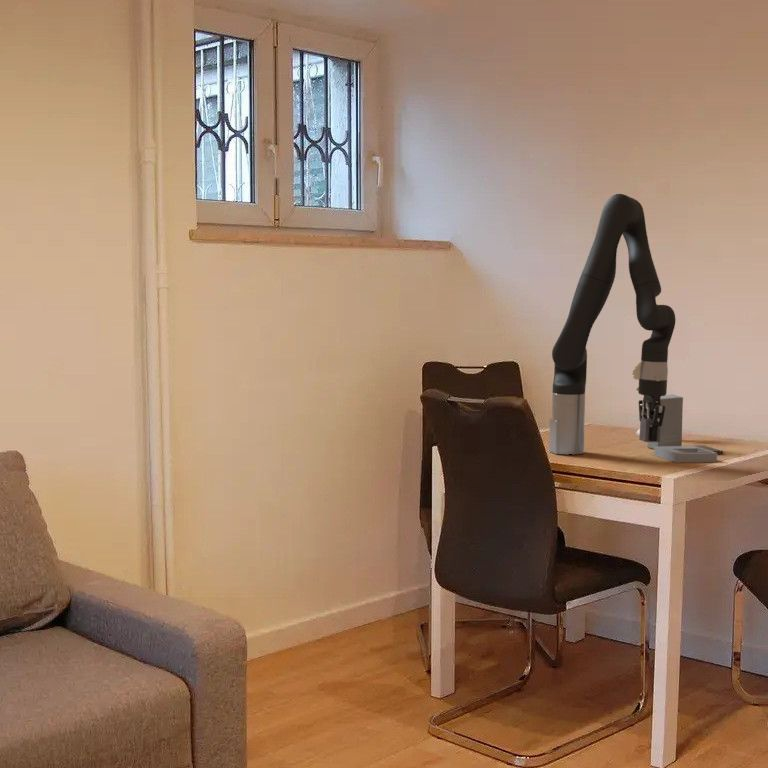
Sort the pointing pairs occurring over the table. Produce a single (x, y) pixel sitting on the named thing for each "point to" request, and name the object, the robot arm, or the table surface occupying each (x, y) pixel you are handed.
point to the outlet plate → (685, 454)
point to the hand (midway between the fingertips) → (649, 439)
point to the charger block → (647, 431)
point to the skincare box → (670, 422)
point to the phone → (710, 449)
